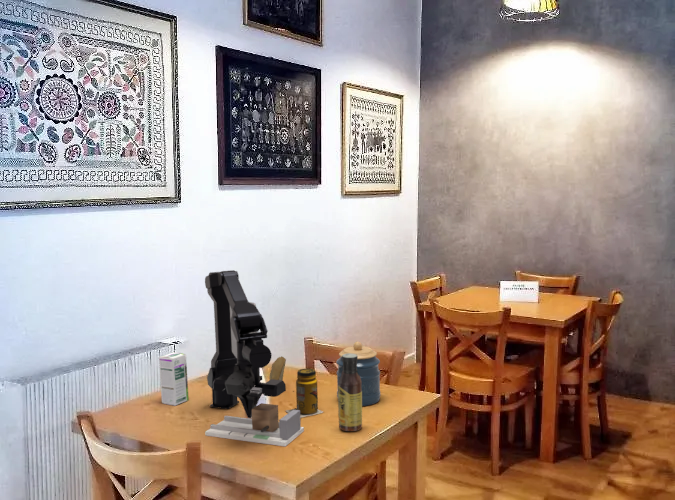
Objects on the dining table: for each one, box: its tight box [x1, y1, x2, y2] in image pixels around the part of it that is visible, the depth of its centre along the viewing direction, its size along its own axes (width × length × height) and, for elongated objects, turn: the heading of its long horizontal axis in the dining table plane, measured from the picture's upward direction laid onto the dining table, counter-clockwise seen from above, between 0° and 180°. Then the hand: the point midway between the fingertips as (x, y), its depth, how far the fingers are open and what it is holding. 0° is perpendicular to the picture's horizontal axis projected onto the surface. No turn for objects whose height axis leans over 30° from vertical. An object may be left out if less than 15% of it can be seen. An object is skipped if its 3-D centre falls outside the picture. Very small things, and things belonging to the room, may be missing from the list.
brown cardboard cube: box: [251, 402, 280, 432], centre depth 169 cm, size 5×8×6 cm, turn 158°
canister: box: [335, 341, 381, 407], centre depth 197 cm, size 13×13×18 cm
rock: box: [268, 356, 287, 381], centre depth 210 cm, size 11×9×10 cm
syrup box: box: [158, 352, 189, 407], centre depth 198 cm, size 6×6×14 cm
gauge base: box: [204, 409, 305, 447], centre depth 172 cm, size 23×11×6 cm, turn 68°
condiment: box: [285, 368, 324, 419], centre depth 187 cm, size 7×8×12 cm
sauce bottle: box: [337, 353, 363, 432], centre depth 173 cm, size 6×6×20 cm
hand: (250, 417), depth 172 cm, fingers closed
